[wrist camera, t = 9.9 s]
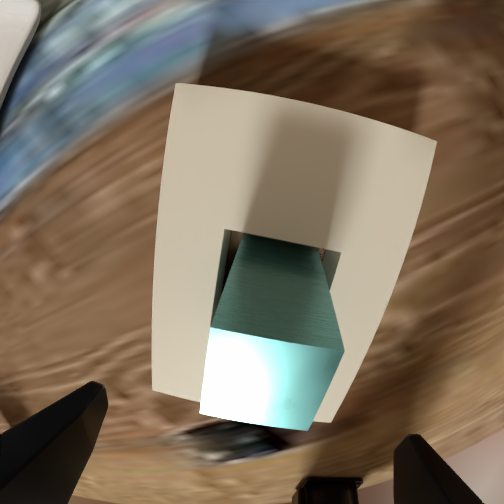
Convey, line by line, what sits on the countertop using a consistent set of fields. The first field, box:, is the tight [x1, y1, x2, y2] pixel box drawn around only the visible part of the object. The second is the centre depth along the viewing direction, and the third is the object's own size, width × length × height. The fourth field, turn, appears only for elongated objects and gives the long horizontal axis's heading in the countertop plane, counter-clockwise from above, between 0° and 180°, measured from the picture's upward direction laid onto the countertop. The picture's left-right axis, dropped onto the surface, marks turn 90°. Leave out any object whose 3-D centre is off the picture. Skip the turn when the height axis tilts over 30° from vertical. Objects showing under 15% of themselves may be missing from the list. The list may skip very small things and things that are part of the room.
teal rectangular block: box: [200, 233, 345, 431], centre depth 14 cm, size 4×4×10 cm
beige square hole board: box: [152, 83, 437, 423], centre depth 17 cm, size 12×18×4 cm, turn 170°
